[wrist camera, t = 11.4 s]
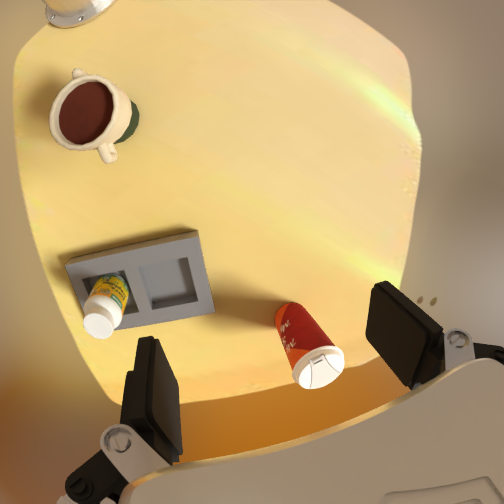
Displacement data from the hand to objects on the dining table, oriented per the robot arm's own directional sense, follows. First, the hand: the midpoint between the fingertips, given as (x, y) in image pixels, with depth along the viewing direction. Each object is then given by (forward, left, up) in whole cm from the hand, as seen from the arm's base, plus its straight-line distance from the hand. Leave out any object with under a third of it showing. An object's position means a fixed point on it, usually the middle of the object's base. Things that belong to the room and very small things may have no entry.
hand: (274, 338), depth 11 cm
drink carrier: (+10, -13, -28) cm, 33 cm away
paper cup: (+22, +9, -28) cm, 37 cm away
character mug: (-13, -11, -28) cm, 33 cm away
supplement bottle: (+10, -17, -28) cm, 34 cm away
